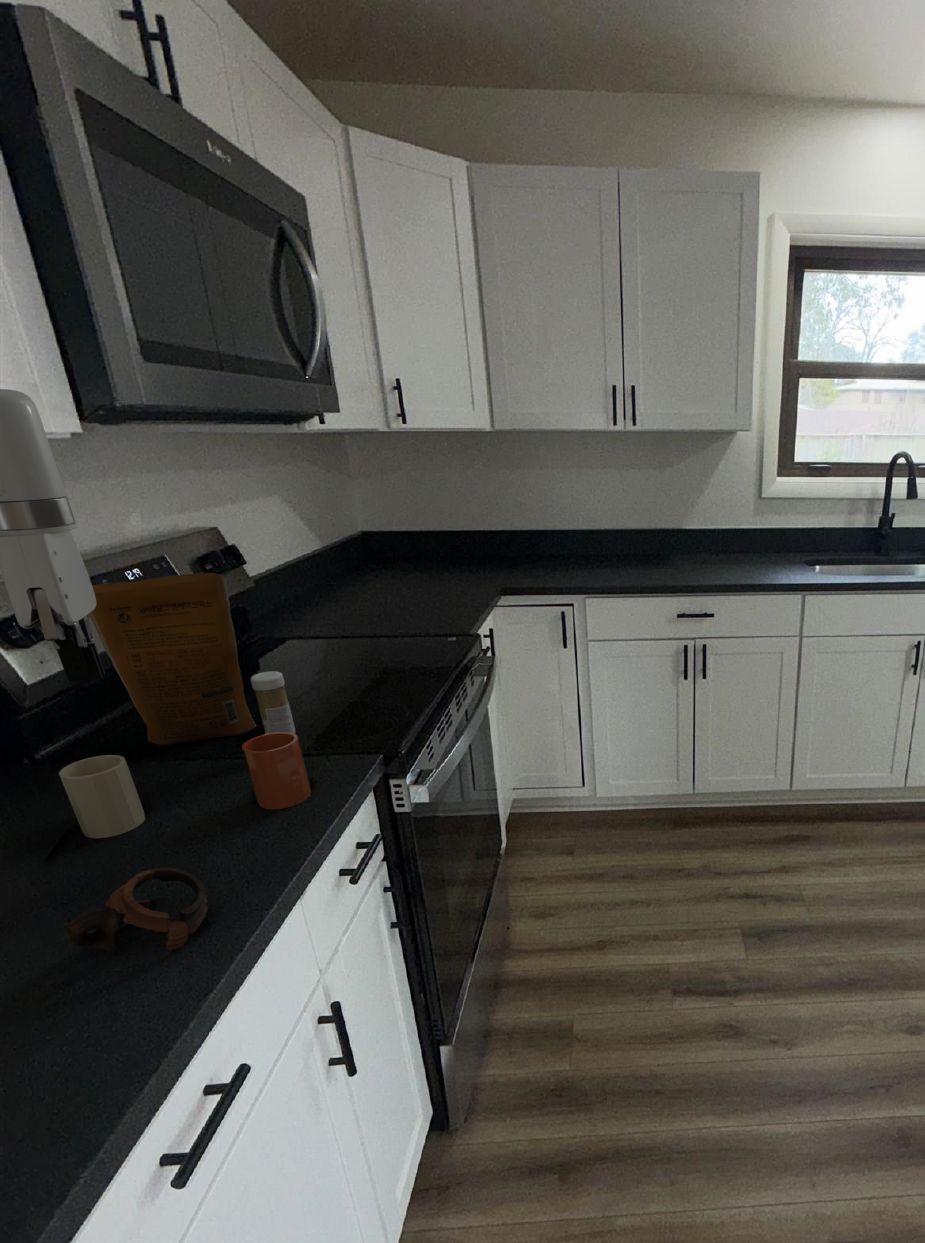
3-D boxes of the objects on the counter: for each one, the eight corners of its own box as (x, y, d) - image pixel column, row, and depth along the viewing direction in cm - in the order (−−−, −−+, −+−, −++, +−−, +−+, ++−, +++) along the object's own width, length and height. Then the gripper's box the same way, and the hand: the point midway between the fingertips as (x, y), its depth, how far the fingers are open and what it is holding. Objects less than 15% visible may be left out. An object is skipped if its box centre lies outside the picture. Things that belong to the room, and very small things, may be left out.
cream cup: (75, 842, 96) (50, 782, 92) (92, 817, 102) (69, 759, 98) (138, 832, 98) (116, 772, 94) (151, 808, 104) (131, 751, 100)
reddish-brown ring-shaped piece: (168, 902, 85) (186, 850, 82) (212, 958, 82) (233, 907, 79) (41, 939, 74) (56, 881, 71) (87, 1005, 71) (105, 948, 68)
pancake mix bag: (262, 735, 128) (219, 574, 116) (133, 753, 121) (74, 584, 109) (266, 721, 133) (225, 567, 122) (143, 738, 127) (87, 576, 115)
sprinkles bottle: (271, 748, 123) (251, 672, 117) (301, 743, 124) (282, 668, 119) (269, 759, 119) (248, 681, 113) (300, 754, 121) (281, 677, 115)
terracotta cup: (254, 813, 103) (238, 755, 99) (261, 791, 109) (245, 736, 105) (309, 804, 105) (295, 747, 101) (312, 783, 111) (299, 729, 107)
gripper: (13, 510, 83) (70, 664, 91) (-49, 527, 71) (23, 704, 78) (92, 507, 86) (141, 657, 93) (46, 523, 73) (107, 695, 81)
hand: (87, 678), depth 86 cm, fingers closed
